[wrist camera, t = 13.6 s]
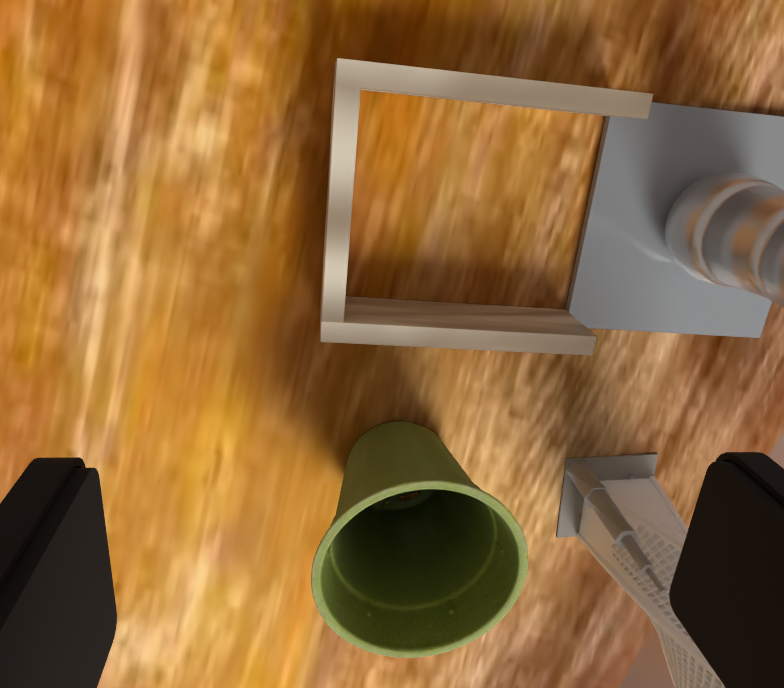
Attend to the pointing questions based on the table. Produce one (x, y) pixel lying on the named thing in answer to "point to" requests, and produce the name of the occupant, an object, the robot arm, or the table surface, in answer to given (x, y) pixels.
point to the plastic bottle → (730, 233)
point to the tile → (649, 215)
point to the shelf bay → (428, 318)
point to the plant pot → (415, 549)
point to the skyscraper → (634, 546)
